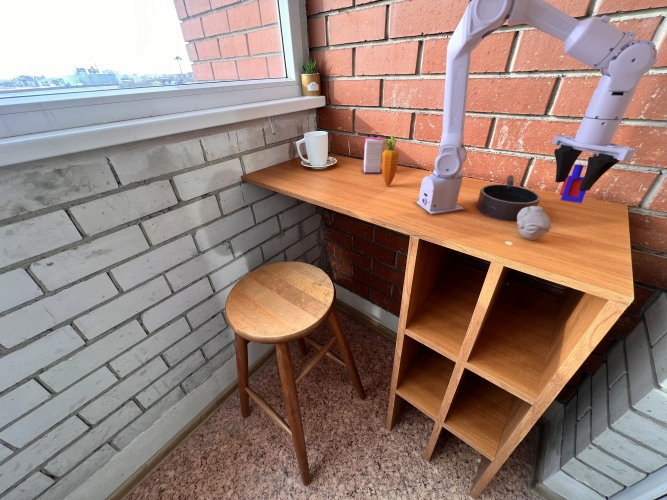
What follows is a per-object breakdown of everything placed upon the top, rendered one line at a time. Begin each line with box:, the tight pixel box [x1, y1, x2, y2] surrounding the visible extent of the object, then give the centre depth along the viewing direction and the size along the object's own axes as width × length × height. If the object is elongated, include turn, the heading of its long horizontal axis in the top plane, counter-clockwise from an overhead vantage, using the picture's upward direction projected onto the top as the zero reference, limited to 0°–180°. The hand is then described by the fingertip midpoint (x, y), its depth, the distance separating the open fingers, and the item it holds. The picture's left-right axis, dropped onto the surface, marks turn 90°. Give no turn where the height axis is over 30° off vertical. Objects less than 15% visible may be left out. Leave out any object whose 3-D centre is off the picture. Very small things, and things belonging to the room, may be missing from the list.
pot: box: [476, 183, 541, 222], centre depth 73 cm, size 13×13×5 cm
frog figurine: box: [516, 205, 552, 241], centre depth 60 cm, size 6×7×7 cm
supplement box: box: [363, 136, 384, 175], centre depth 101 cm, size 6×6×12 cm
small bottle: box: [559, 164, 587, 204], centre depth 61 cm, size 4×4×8 cm
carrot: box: [381, 135, 400, 187], centre depth 87 cm, size 5×5×15 cm
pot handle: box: [506, 174, 515, 190], centre depth 80 cm, size 11×2×2 cm, turn 151°
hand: (571, 186), depth 62 cm, fingers closed on small bottle, 5 cm apart
